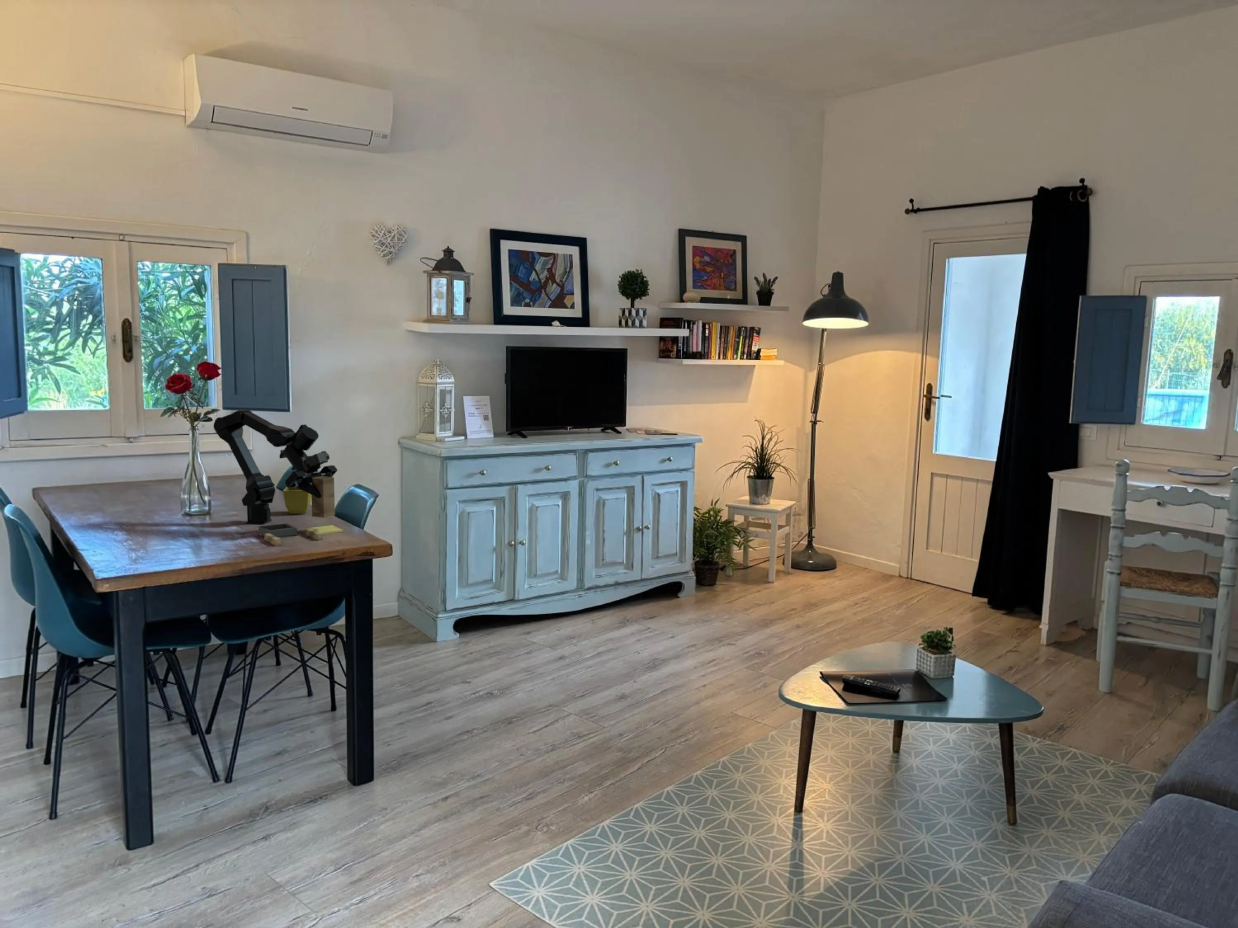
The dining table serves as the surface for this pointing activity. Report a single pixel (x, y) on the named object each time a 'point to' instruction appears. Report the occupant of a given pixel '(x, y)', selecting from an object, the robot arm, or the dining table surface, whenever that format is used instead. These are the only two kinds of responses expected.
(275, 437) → the robot arm
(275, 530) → the charcoal tray
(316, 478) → the walnut block
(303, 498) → the flower pot
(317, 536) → the brown lane walls
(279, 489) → the dining table surface
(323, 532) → the pad
